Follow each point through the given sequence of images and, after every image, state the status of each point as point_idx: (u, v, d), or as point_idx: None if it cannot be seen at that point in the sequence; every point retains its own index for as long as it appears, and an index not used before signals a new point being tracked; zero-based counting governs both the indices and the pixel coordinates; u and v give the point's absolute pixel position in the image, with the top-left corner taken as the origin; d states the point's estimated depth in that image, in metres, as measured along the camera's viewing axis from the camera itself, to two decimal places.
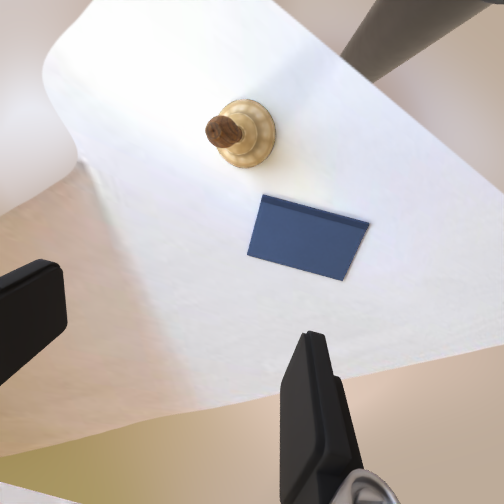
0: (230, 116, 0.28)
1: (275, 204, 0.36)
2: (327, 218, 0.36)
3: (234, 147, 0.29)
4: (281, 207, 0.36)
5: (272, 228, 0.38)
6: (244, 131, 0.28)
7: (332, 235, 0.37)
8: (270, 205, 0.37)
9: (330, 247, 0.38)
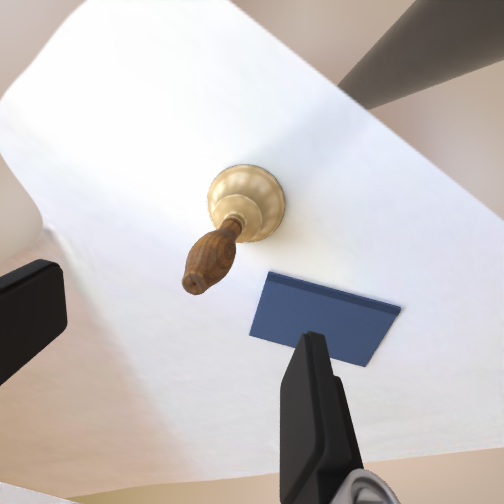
0: (226, 199, 0.21)
1: (284, 283, 0.29)
2: (349, 301, 0.29)
3: None
4: (292, 286, 0.29)
5: (279, 309, 0.31)
6: (244, 220, 0.21)
7: (354, 319, 0.30)
8: (278, 284, 0.30)
9: (351, 331, 0.31)
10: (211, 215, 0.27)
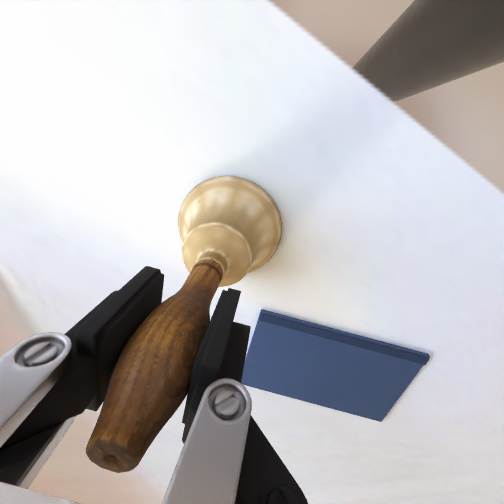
0: (199, 230, 0.15)
1: (281, 324, 0.23)
2: (363, 347, 0.23)
3: None
4: (291, 328, 0.23)
5: (275, 354, 0.25)
6: (227, 261, 0.14)
7: (369, 367, 0.24)
8: (273, 325, 0.23)
9: (365, 382, 0.25)
10: None
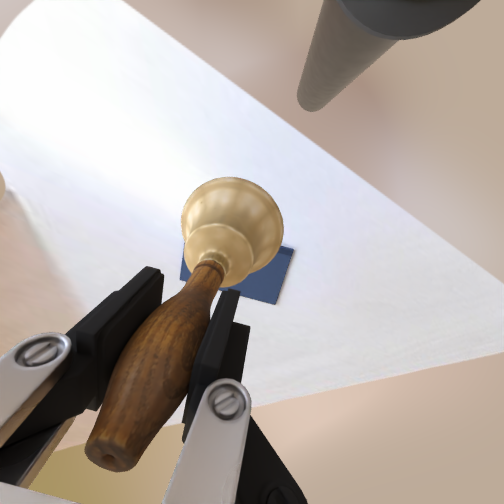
0: (201, 230, 0.15)
1: None
2: None
3: None
4: None
5: None
6: (228, 262, 0.14)
7: None
8: None
9: (259, 272, 0.38)
10: None
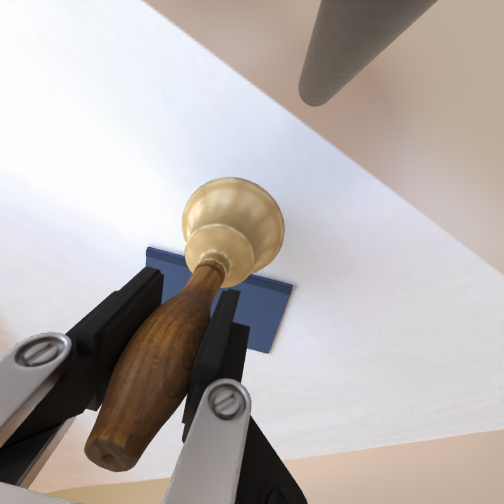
0: (202, 231, 0.15)
1: (165, 259, 0.27)
2: None
3: None
4: (174, 263, 0.27)
5: (167, 289, 0.28)
6: (229, 262, 0.14)
7: (246, 299, 0.28)
8: (159, 261, 0.27)
9: (246, 314, 0.28)
10: None
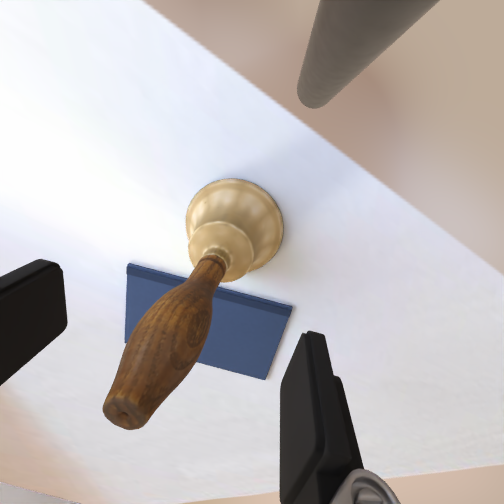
0: (205, 228, 0.16)
1: (149, 277, 0.24)
2: (229, 300, 0.24)
3: None
4: (158, 282, 0.24)
5: None
6: (230, 257, 0.15)
7: (240, 321, 0.25)
8: (141, 279, 0.24)
9: (240, 337, 0.25)
10: None
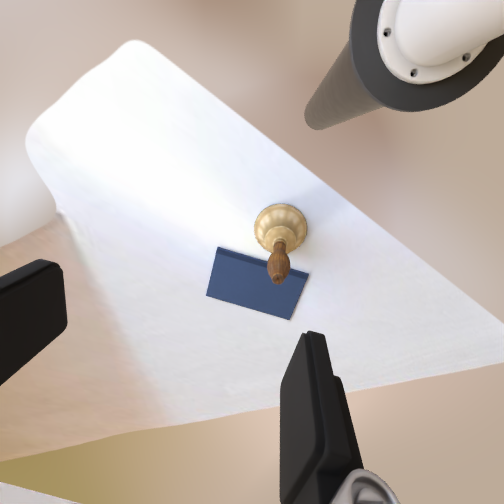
0: (275, 229, 0.34)
1: (228, 255, 0.42)
2: None
3: None
4: (234, 258, 0.42)
5: (226, 275, 0.44)
6: (286, 242, 0.34)
7: None
8: (224, 256, 0.42)
9: (277, 292, 0.44)
10: (257, 235, 0.40)
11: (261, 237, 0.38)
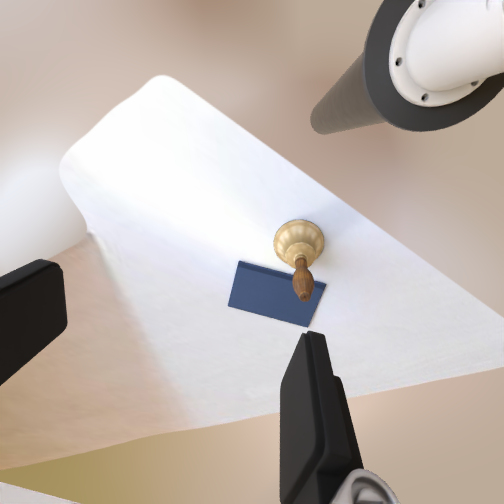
0: (295, 245, 0.36)
1: (249, 268, 0.44)
2: (292, 280, 0.44)
3: None
4: (254, 270, 0.44)
5: (247, 286, 0.46)
6: (307, 258, 0.36)
7: None
8: (245, 269, 0.45)
9: (295, 301, 0.46)
10: (276, 249, 0.42)
11: (281, 251, 0.41)
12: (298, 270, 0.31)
